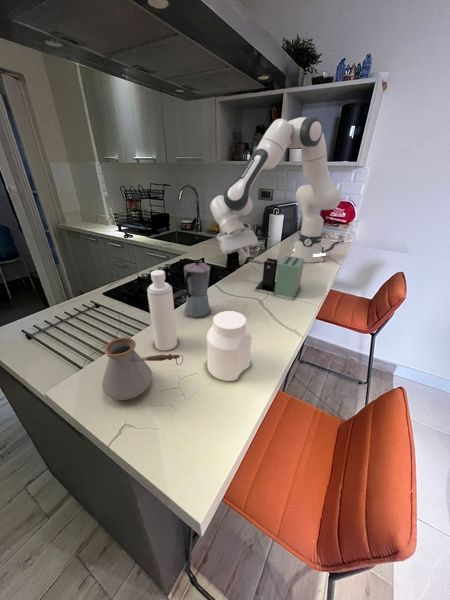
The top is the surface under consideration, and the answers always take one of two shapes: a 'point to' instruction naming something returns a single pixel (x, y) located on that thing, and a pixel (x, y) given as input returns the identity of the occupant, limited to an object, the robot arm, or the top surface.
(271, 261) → the lever
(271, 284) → the lever bracket
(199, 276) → the moka pot
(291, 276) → the toaster body
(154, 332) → the white bottle
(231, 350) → the jar
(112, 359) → the coffee pot
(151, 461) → the top surface
